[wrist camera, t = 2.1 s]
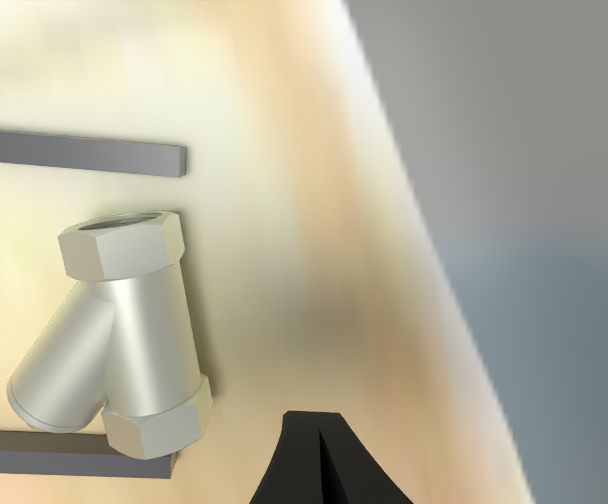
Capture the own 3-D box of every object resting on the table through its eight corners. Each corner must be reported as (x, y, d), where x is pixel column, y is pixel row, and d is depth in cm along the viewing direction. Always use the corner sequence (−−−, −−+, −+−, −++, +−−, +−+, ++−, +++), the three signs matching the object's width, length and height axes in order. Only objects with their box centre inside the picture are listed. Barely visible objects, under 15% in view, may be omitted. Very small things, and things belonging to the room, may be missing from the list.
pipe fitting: (60, 410, 20) (218, 395, 19) (2, 476, 16) (196, 459, 16) (10, 225, 18) (185, 206, 17) (-70, 250, 14) (150, 226, 14)
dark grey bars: (176, 458, 20) (170, 478, 19) (-22, 451, 19) (-41, 471, 18) (186, 146, 17) (179, 147, 16) (-48, 125, 16) (-73, 124, 15)
